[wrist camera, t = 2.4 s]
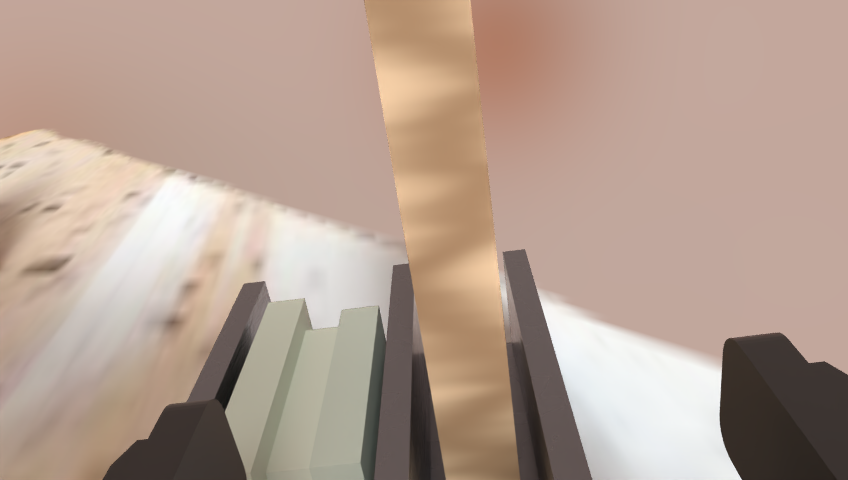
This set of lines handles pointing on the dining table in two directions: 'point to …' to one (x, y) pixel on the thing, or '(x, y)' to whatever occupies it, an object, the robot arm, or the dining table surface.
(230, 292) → the dining table surface
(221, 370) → the sheet rack
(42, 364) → the dining table surface
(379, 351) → the pale green grooved block
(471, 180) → the oak block
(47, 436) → the dining table surface
